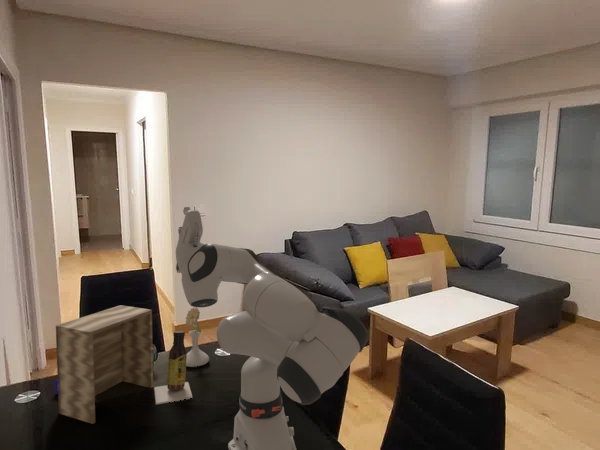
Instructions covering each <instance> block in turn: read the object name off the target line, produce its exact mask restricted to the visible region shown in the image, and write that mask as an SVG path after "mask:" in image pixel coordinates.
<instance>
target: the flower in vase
mask: <svg viewBox="0 0 600 450" xmlns="http://www.w3.org/2000/svg"><path fill="white" fill-rule="evenodd" d="M200 314H201V311H200V309H199V307H193V306H192V308H190V309H189V310H188V311H187V314H186V317H185V325H187V327H192V328H193V330H192V329H191V330H189V331H188V334H189V335H190V338H191V341H192V347H191V349H190V351H188V352H186V353H187V358H186V367H189V368H197V366H198V367H200V366H201V367H202V366H204V365H206V364H207V363H209V361H210V357H209V355H208V354H207V353H206V352H204V351H203V350H201V349H200V348H199V337H200V334H201V333H202V329H201V325H199V322H198V320H199V319H200ZM196 324H197V325H196Z"/></svg>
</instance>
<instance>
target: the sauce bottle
mask: <svg viewBox="0 0 600 450" xmlns="http://www.w3.org/2000/svg"><path fill="white" fill-rule="evenodd" d="M185 332H186V331H182V330H181V331H178V330H177V331H173V335H172V336H173V343H172V344H173V345H172V346H171V348H170V349H169V355H168V363H167V364H168V365H167V377H166V378H167V381H166V383H167V385H168V386H167V388H168V389H169V390H179V389H182V388H184V385H185V382H186V374H187V372H186V371H187V366H186V358H187V353H188V352H187V350H186V347H185V336H186V333H185Z"/></svg>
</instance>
